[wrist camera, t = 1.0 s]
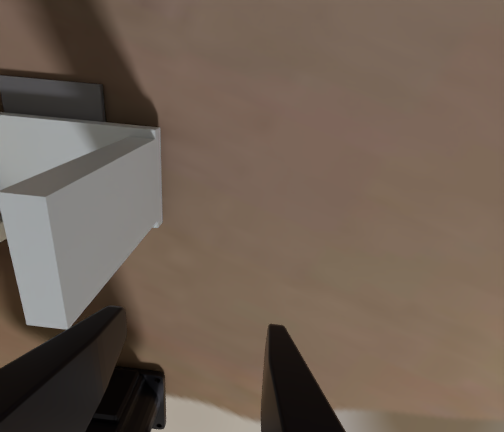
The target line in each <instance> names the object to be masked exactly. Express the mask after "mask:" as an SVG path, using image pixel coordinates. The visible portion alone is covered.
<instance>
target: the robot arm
mask: <svg viewBox="0 0 504 432" xmlns="http://www.w3.org/2000/svg"><path fill="white" fill-rule="evenodd" d="M126 336H127V324H126V312H125V309H124V308H123V307H120V306H107V307H105V308H103V309H102V310H100V311H98V312H96V313H95V314H93V315H91V316H89V317H88V318H86V319H84V320H83V321H81V322H79V323H77V324H76V325H74V326H72V327H71V328H69V329H67V330H65V331H64V332H62V333H60V334H59V335H57V336H55V337H53V338H52V339H50V340H48V341H47V342H45V343H43V344H41V345H40V346H38V347H36V348H34V349H33V350H31V351H29V352H28V353H26V354H24V355H22V356H21V357H19V358H17V359H16V360H14V361H12V362H10V363H9V364H7V365H5V366H4V367H2V368H0V432H151V429H152V428H153V429H164V427H165V424H166V398H165V375H164V374H163V373H161V372H156V371H148V370H140V369H132V368H124V367H115V365H116V363H117V360H118V358H119V355H120V353H121V350H122V348H123V345H124V342H125V340H126ZM261 432H346V431H345V430H344V428H343V426H342V425H341V423H340V421H339V420H338V418H337V416H336V414H335V413H334V411H333V409H332V407H331V406H330V404H329V402H328V400H327V399H326V397H325V395H324V394H323V392H322V390H321V388H320V387H319V385H318V383H317V382H316V380H315V378H314V376H313V375H312V373H311V371H310V369H309V368H308V366H307V364H306V363H305V361H304V359H303V357H302V356H301V354H300V352H299V351H298V349H297V347H296V345H295V344H294V342H293V340H292V338H291V337H290V335H289V333H288V332H287V330H286V328H285V327H284V326H283V325H276V324H269V326H268V331H267V338H266V346H265V356H264V370H263V385H262V399H261Z"/></svg>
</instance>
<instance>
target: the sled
mask: <svg viewBox="0 0 504 432" xmlns="http://www.w3.org/2000/svg"><path fill="white" fill-rule="evenodd" d="M0 211H1V215H2V219H3V224H4V228H5V232H6V237H7V241H8V245H9V250H10V254H11V258H12V263H13V267H14V271H15V276H16V280H17V284H18V289H19V293H20V297H21V302H22V306H23V310H24V315H25V319H26V324H27V325H32V326H40V327H49V328H57V329H66V330H67V329H69V328H70V327H71V326H72V324H73V323H74V322H75V321H76V320H77V318H78V317H79V316H80V315H81V313H82V312H83V311H84V310H85V309H86V307H87V306H88V305H89V304H90V302H91V301H92V300H93V299H94V298H95V296H96V295H97V294H98V293H99V292H100V290H101V289H102V288H103V287H104V285H105V284H106V283H107V282H108V281H109V279H110V278H111V277H112V276H113V275H114V273H115V272H116V271H117V270H118V268H119V267H120V266H121V265H122V264H123V262H124V261H125V260H126V259H127V257H128V256H129V255H130V254H131V253H132V251H133V250H134V249H135V248H136V247H137V245H138V244H139V243H140V242H141V240H142V239H143V238H144V237H145V236H146V234H147V233H148V232H149V231H150V229H151V228H152V227H153V228H158V227H159V226H160V225H161V223H162V222H163V221H162V181H161V140H160V127H150V126H140V125H129V124H119V123H108V122H98V121H88V120H77V119H67V118H57V117H46V116H36V115H26V114H15V113H5V112H0Z"/></svg>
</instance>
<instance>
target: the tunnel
mask: <svg viewBox="0 0 504 432" xmlns="http://www.w3.org/2000/svg"><path fill="white" fill-rule="evenodd" d="M0 93H1V98H2V103H3V108H4V112H5V113H15V114H26V115H36V116H46V117H57V118H67V119H77V120H88V121H98V122H106V119H105V108H104V96H103V85H102V84H92V83H81V82H70V81H59V80H48V79H38V78H27V77H16V76H5V75H0ZM6 238H7V237H6V232H5V228H4V224H3V219H2V215H1V214H0V242H1V241H3V240H5V239H6Z"/></svg>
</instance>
